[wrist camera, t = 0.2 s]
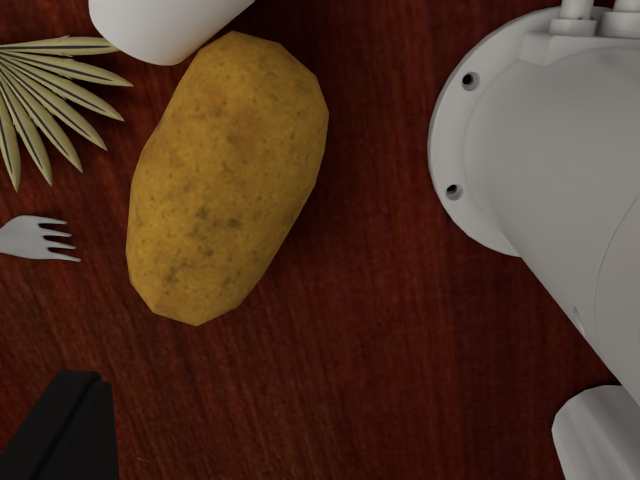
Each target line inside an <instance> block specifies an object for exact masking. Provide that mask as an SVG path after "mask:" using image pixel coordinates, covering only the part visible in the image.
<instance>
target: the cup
mask: <svg viewBox="0 0 640 480" xmlns="http://www.w3.org/2000/svg"><path fill="white" fill-rule="evenodd" d="M552 434H553V440H554V444H555V447H556V450H557V453H558V456H559V460H560V463H561V466H562V469H563V472H564V475H565V478H566V480H640V407H639V405H638V404H637V403H636V401H635V400H634V399H633V398H632V396H631V395H630V394H629V393H628V391H627V390H626V389H625V388H624V386H614V385H603V386H599V387H595V388H591V389H587V390H584V391H583V392H581V393H579V394H578V395H576V396H574V397H573V398H571V399H570V400H568V401H567V402H566V403H565V404H564V406H563V407H562V408H561V409H560V410H559V411H558V413H557V414H556V416H555V420H554V423H553V426H552Z"/></svg>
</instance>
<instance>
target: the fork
mask: <svg viewBox="0 0 640 480" xmlns="http://www.w3.org/2000/svg"><path fill="white" fill-rule="evenodd" d="M39 223H58V224H67V222H65V221H60V220H56V219H51V218H45V217H38V216H29V215H24V216H19V217H16V218H14V219H12V220H11V221H9V222H8V223H7V224H6V225H5V226H3V227H2V228H1V229H0V252H2V253H7V254H11V255H16V256H20V257H25V258H32V259H65V260H73V261H78V262H80V261H81V259H78V258H75V257H71V256H67V255H63V254H59V253H54V252H50V251H49V250H48V247H59V248H70V249H76V247H74V246H70V245H66V244H62V243H58V242H53V241H48V240H45V239H44V238H43V236H44V235H56V236H67V237H70V236H72V235H71V234H67V233H63V232H59V231H54V230H48V229H43V228H41V227H39V225H38V224H39Z"/></svg>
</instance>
